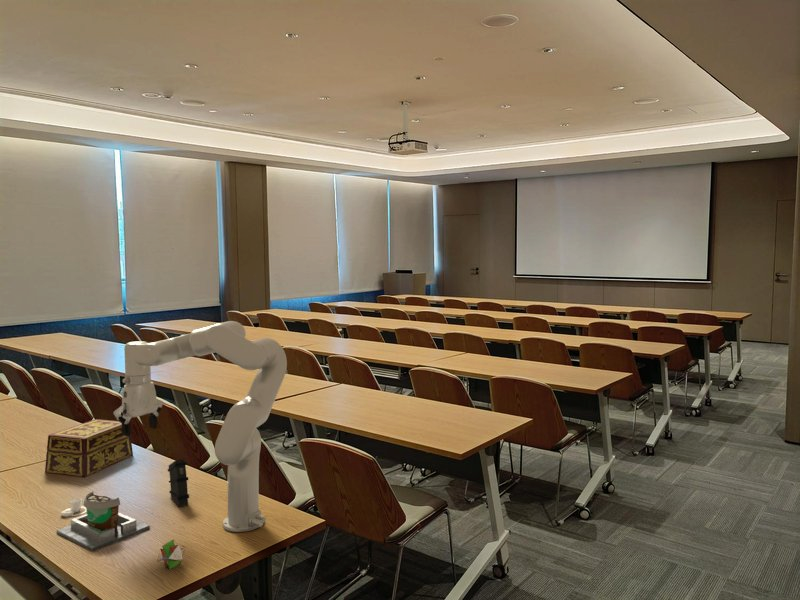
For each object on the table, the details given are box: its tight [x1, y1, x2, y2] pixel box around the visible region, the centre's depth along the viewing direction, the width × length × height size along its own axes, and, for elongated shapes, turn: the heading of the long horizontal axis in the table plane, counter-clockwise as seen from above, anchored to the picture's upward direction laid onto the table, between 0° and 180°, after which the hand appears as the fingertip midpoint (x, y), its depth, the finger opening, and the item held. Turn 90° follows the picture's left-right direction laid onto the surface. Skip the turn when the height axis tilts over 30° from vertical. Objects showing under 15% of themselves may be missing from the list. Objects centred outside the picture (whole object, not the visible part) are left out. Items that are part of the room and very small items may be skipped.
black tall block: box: [167, 458, 190, 508], centre depth 207 cm, size 4×13×15 cm, turn 35°
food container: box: [83, 491, 121, 531], centre depth 182 cm, size 12×6×10 cm, turn 66°
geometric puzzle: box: [156, 539, 186, 571], centre depth 163 cm, size 7×7×8 cm
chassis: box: [56, 511, 151, 552], centre depth 183 cm, size 20×18×4 cm
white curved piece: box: [60, 498, 87, 517], centre depth 197 cm, size 9×8×4 cm
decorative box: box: [44, 418, 134, 479], centre depth 243 cm, size 28×19×15 cm
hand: (140, 431), depth 194 cm, fingers open, 9 cm apart
